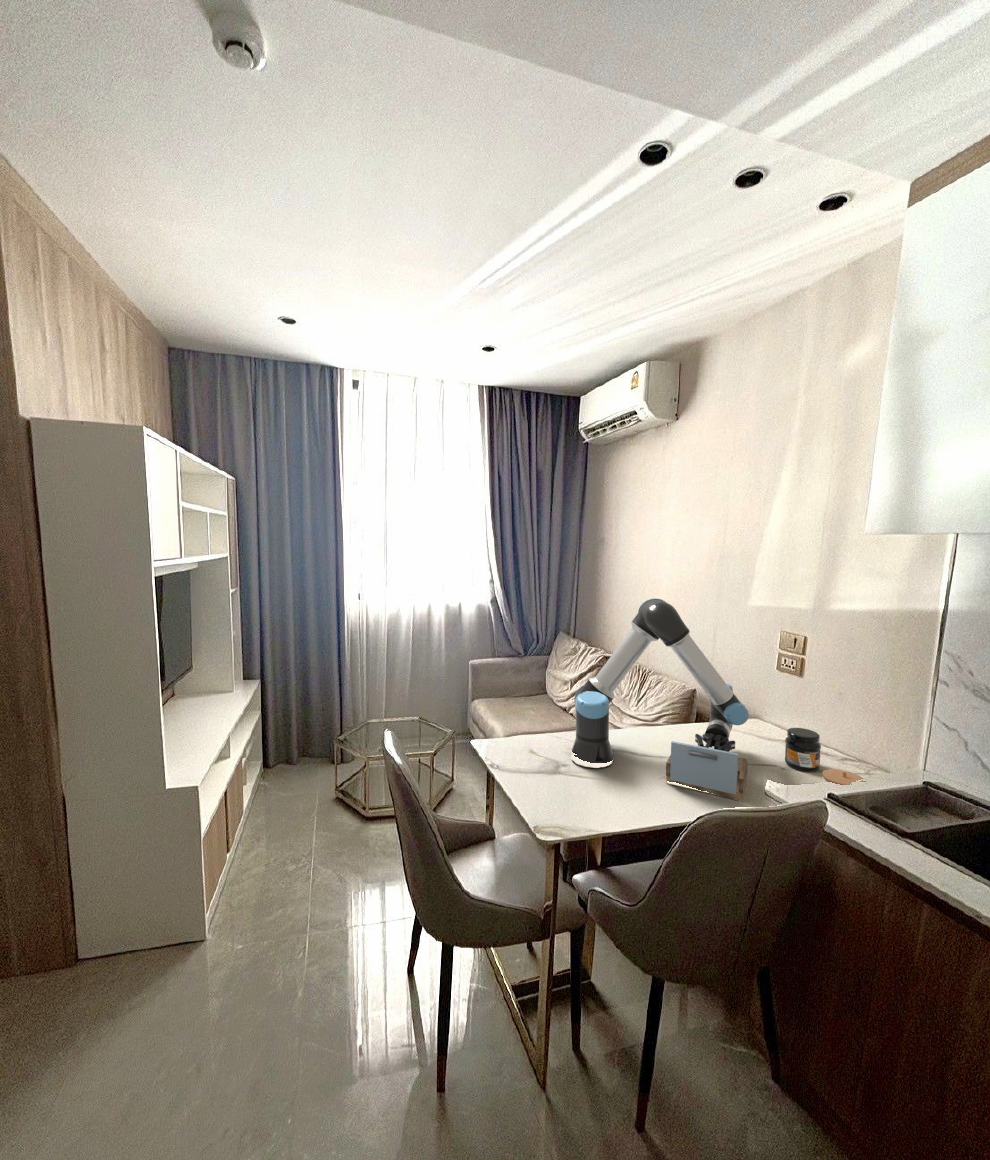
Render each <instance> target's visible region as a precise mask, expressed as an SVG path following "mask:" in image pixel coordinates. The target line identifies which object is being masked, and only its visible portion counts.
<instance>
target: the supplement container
mask: <svg viewBox="0 0 990 1160" xmlns="http://www.w3.org/2000/svg"><path fill="white" fill-rule="evenodd" d="M786 735H787V736H786V737H785V739H784V740H785V746H784V747H785V748H784V749H785V753H784V754H785V756H784V762H785V764H786V765H787V766H789V767H790V768H792V769H795V770H797V771H802V772H806V773H807V772H808V773H811V772H816V771H819V770H820V768H821V748H822V745H821V743H820V740H821V739H820V737H821V735H820V734H819V733H818V732H817V731H814V730H811V729H808V728H803V727H790V728H788V729H787V730H786Z"/></svg>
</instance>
